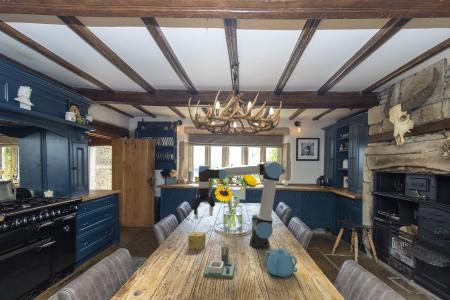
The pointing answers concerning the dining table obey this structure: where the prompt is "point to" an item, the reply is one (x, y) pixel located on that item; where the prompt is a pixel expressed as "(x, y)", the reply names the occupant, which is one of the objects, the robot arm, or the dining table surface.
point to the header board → (220, 269)
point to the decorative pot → (280, 263)
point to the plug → (225, 252)
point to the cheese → (196, 240)
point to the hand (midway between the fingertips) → (203, 217)
